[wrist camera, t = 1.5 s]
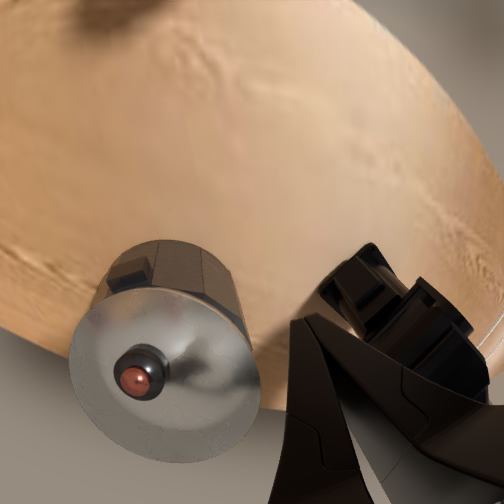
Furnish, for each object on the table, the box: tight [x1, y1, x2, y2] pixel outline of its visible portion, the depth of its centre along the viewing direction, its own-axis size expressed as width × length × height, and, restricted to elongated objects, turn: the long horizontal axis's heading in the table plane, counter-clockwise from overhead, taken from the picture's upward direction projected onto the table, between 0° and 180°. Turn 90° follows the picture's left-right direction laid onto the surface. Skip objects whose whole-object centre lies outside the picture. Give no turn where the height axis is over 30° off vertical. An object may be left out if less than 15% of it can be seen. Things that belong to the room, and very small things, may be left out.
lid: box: [69, 287, 261, 463], centre depth 13 cm, size 11×11×3 cm
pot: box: [90, 240, 253, 351], centre depth 20 cm, size 12×11×6 cm
